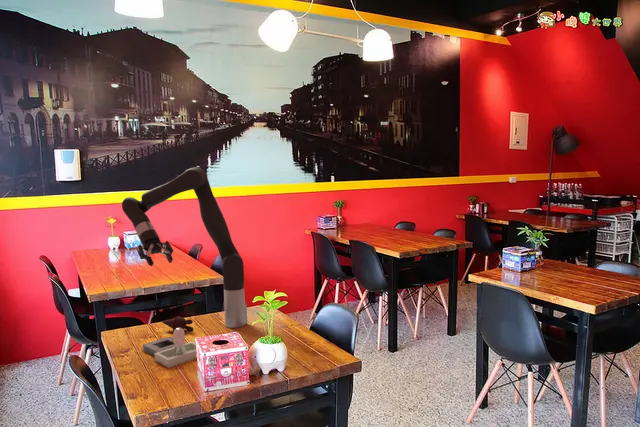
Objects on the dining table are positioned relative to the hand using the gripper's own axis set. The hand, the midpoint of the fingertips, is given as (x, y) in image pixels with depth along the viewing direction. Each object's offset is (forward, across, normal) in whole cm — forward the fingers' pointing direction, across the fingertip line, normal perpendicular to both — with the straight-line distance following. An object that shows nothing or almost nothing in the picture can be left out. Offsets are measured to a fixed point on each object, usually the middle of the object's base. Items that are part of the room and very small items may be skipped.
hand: (161, 263), depth 200 cm
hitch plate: (+31, -7, +15) cm, 35 cm away
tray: (+40, -7, +6) cm, 41 cm away
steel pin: (+39, -7, +6) cm, 40 cm away
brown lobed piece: (+20, +8, +27) cm, 34 cm away
